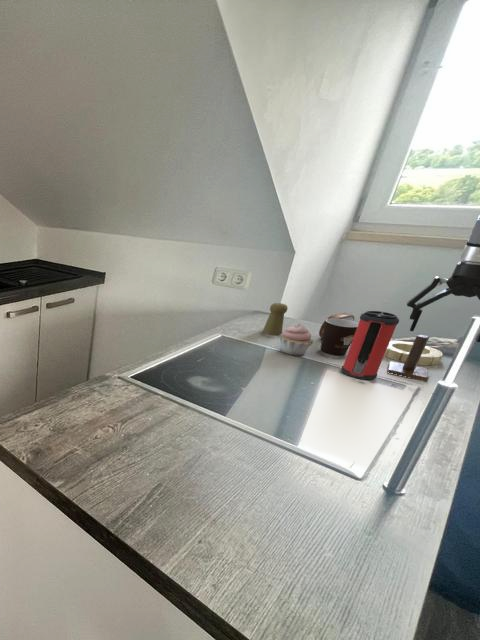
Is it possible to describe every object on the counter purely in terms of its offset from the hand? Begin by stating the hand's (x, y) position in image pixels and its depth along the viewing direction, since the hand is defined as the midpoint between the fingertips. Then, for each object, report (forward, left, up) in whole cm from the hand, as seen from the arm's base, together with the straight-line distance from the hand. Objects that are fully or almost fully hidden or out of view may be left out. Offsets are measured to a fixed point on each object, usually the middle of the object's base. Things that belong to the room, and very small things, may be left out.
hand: (443, 335), depth 115 cm
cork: (+41, +2, -8) cm, 42 cm away
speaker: (+15, +26, -8) cm, 31 cm away
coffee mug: (+21, +10, -8) cm, 25 cm away
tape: (+5, 0, -8) cm, 10 cm away
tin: (+24, -6, -8) cm, 26 cm away
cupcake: (+32, +19, -8) cm, 38 cm away
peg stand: (+5, +16, -8) cm, 19 cm away
